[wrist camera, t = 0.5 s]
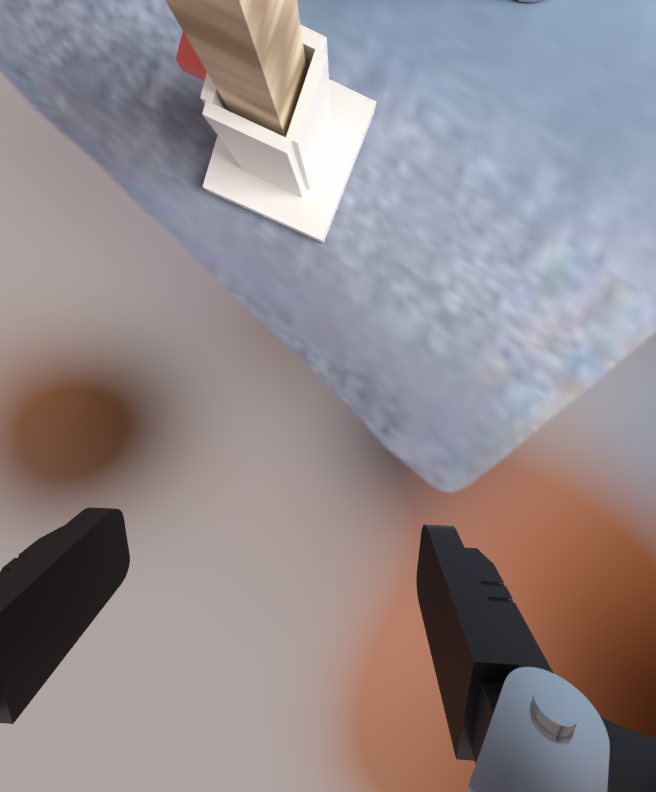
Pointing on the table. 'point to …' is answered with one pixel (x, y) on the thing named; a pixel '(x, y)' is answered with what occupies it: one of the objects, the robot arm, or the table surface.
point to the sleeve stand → (287, 146)
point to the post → (249, 54)
